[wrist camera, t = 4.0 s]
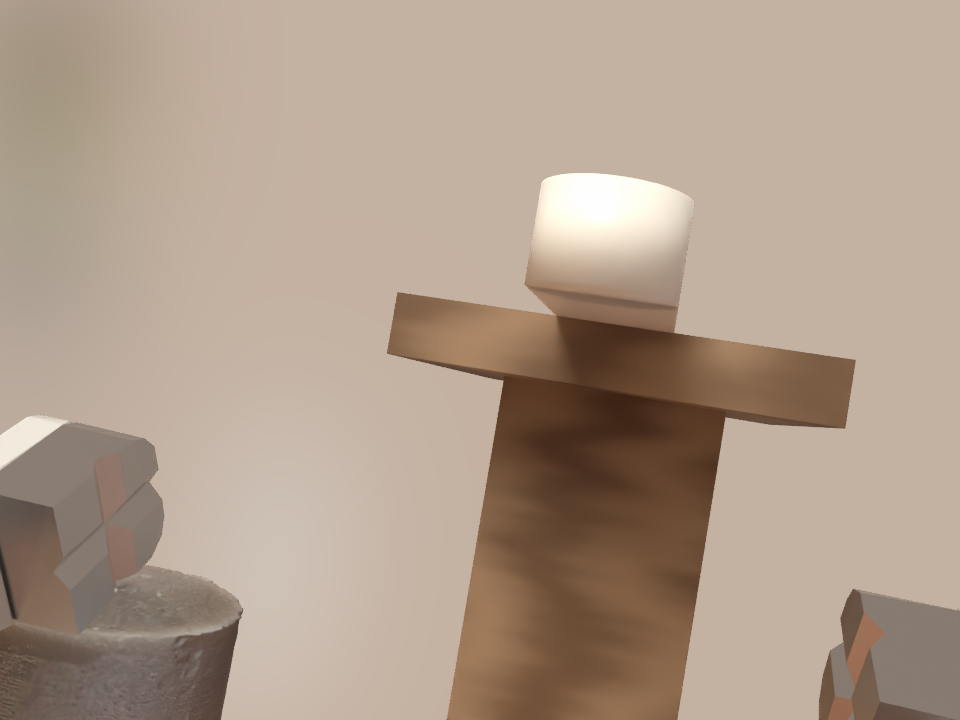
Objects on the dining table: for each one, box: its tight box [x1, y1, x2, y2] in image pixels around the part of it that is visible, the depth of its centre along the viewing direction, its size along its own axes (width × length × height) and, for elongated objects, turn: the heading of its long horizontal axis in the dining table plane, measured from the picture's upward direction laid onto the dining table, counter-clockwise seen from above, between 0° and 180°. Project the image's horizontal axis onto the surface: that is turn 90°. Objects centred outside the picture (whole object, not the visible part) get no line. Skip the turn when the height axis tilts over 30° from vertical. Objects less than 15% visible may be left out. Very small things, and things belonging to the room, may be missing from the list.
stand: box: [387, 292, 855, 720], centre depth 35 cm, size 14×18×26 cm
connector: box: [525, 173, 694, 333], centre depth 32 cm, size 4×26×2 cm, turn 168°
